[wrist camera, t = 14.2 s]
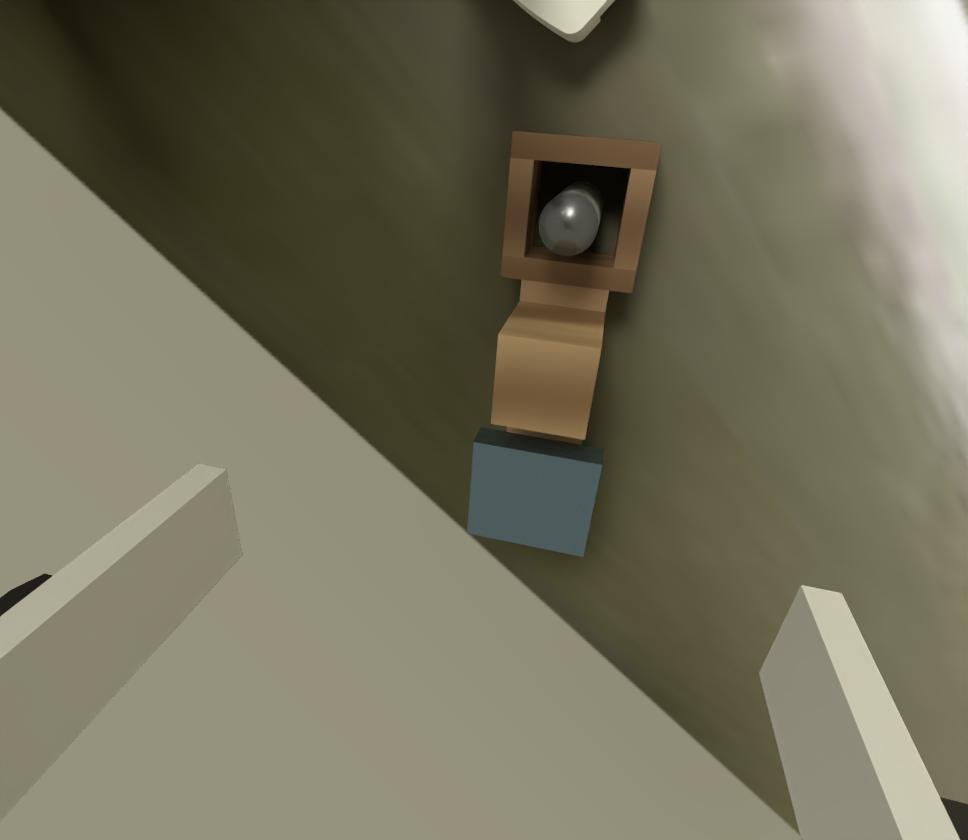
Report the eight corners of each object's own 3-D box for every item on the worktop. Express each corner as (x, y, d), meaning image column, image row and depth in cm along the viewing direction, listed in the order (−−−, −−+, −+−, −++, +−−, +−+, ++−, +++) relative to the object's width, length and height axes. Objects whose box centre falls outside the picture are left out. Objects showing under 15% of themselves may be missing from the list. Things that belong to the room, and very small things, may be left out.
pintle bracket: (520, 175, 26) (491, 186, 20) (649, 187, 25) (657, 202, 19) (493, 467, 34) (467, 533, 28) (589, 485, 33) (583, 557, 27)
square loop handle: (523, 131, 25) (486, 128, 18) (657, 142, 24) (672, 143, 17) (497, 418, 32) (463, 495, 25) (599, 435, 31) (593, 520, 24)
